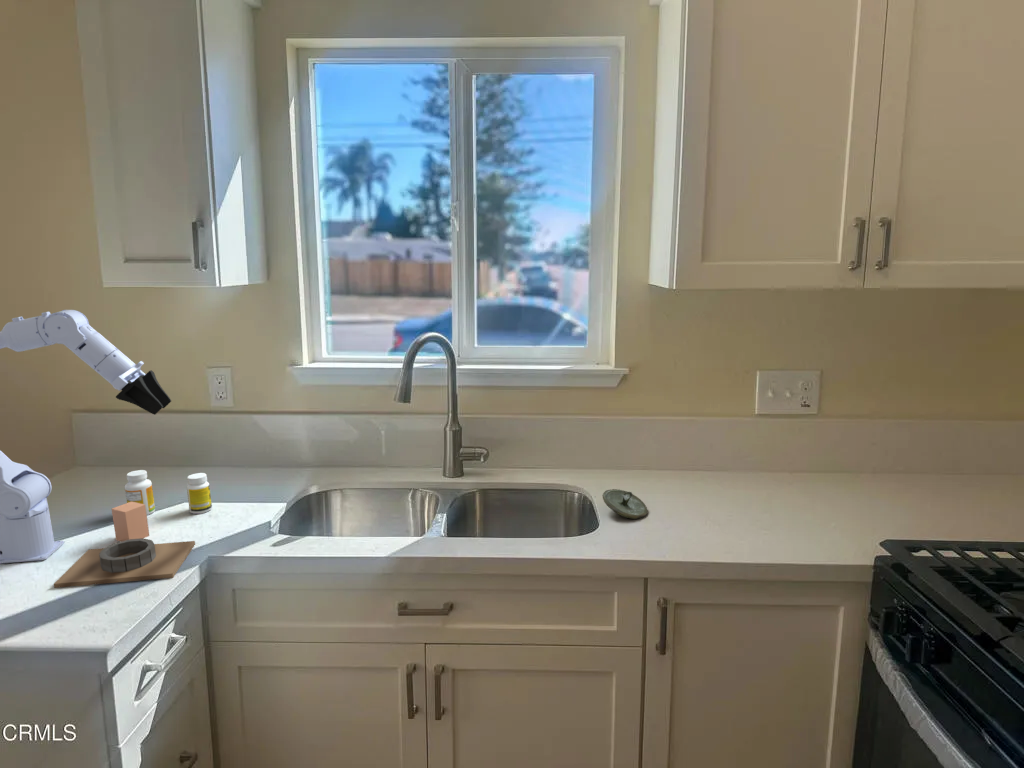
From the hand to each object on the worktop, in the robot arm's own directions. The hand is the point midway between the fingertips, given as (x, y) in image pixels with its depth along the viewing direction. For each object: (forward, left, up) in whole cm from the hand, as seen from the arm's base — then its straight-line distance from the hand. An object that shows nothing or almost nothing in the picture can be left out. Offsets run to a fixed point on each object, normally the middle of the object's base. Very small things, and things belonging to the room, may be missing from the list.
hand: (163, 407), depth 133 cm
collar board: (-6, -10, -28) cm, 31 cm away
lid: (+95, -4, -29) cm, 99 cm away
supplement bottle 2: (0, +16, -29) cm, 33 cm away
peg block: (-10, +3, -28) cm, 30 cm away
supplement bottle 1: (-13, +17, -29) cm, 36 cm away
